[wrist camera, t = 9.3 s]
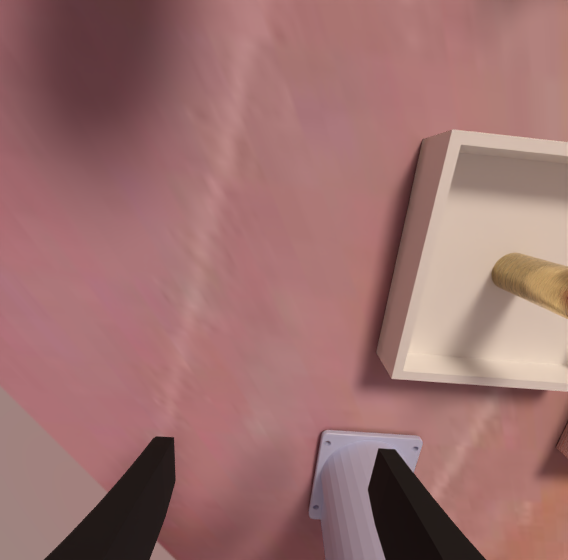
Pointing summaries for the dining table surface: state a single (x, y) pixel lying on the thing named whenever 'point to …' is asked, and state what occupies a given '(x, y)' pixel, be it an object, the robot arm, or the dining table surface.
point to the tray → (478, 264)
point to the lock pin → (534, 281)
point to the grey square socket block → (564, 442)
